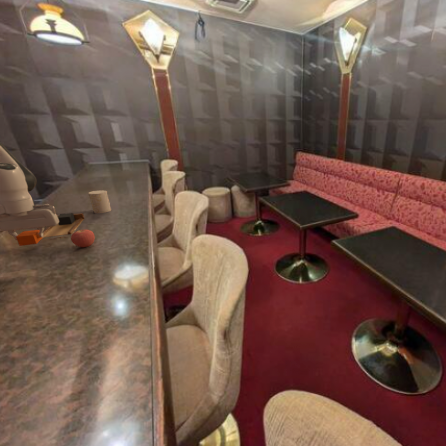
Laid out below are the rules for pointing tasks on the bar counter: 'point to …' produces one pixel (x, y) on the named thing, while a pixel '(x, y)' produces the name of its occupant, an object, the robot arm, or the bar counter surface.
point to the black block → (66, 219)
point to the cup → (100, 201)
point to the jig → (64, 227)
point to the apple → (83, 238)
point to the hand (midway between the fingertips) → (29, 238)
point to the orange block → (28, 237)
